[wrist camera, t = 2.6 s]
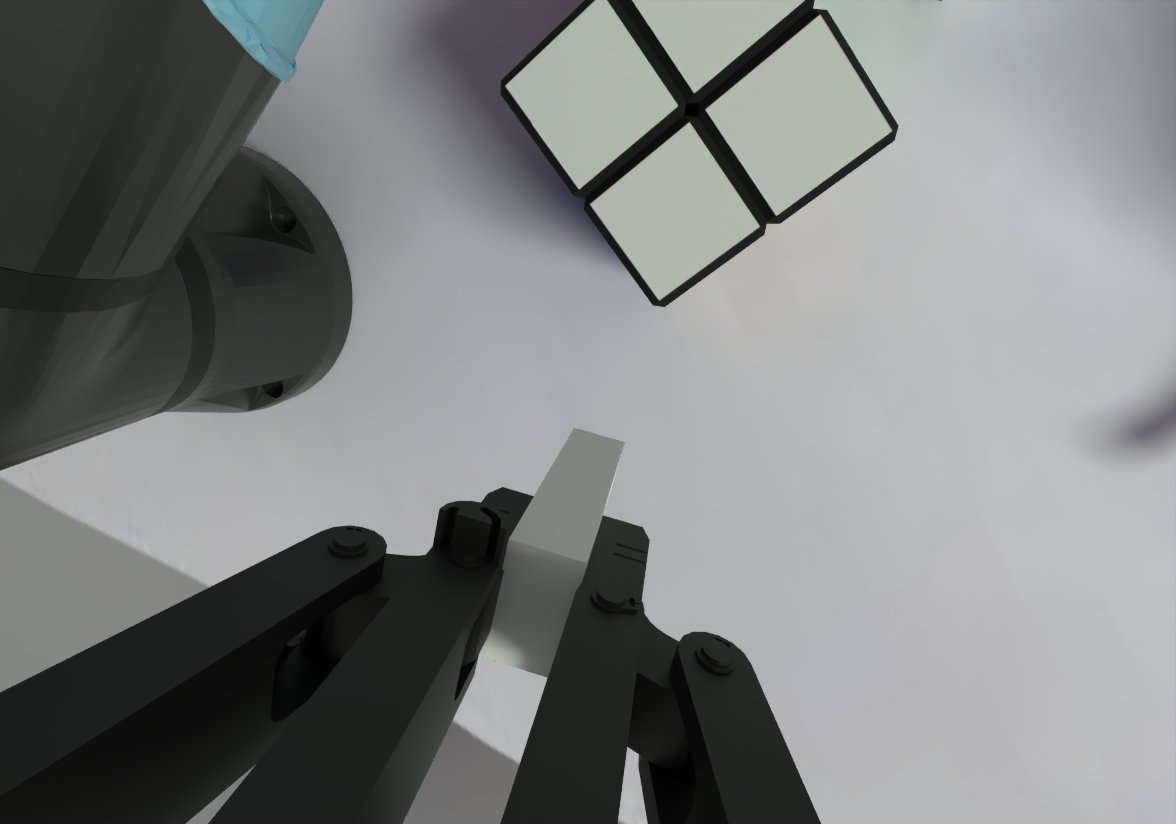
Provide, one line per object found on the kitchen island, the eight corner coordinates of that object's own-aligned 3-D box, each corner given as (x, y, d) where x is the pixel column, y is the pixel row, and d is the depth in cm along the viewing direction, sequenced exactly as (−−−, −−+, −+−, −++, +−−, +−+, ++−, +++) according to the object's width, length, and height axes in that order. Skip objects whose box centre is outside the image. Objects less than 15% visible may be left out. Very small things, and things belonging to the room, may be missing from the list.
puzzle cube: (552, 128, 31) (491, 84, 21) (718, -22, 28) (733, -149, 18) (666, 288, 32) (658, 314, 23) (837, 162, 29) (908, 131, 20)
